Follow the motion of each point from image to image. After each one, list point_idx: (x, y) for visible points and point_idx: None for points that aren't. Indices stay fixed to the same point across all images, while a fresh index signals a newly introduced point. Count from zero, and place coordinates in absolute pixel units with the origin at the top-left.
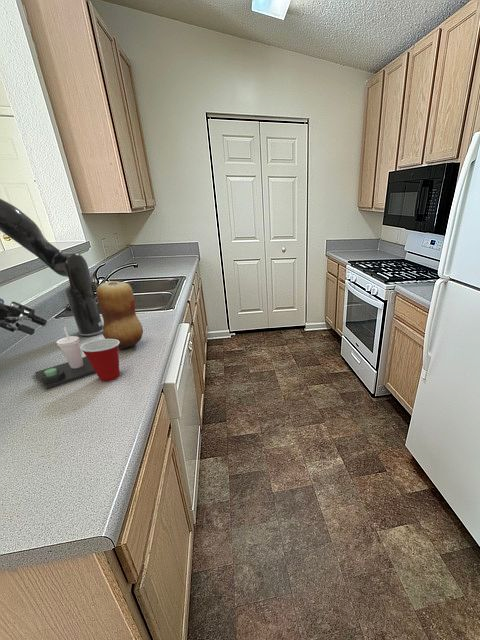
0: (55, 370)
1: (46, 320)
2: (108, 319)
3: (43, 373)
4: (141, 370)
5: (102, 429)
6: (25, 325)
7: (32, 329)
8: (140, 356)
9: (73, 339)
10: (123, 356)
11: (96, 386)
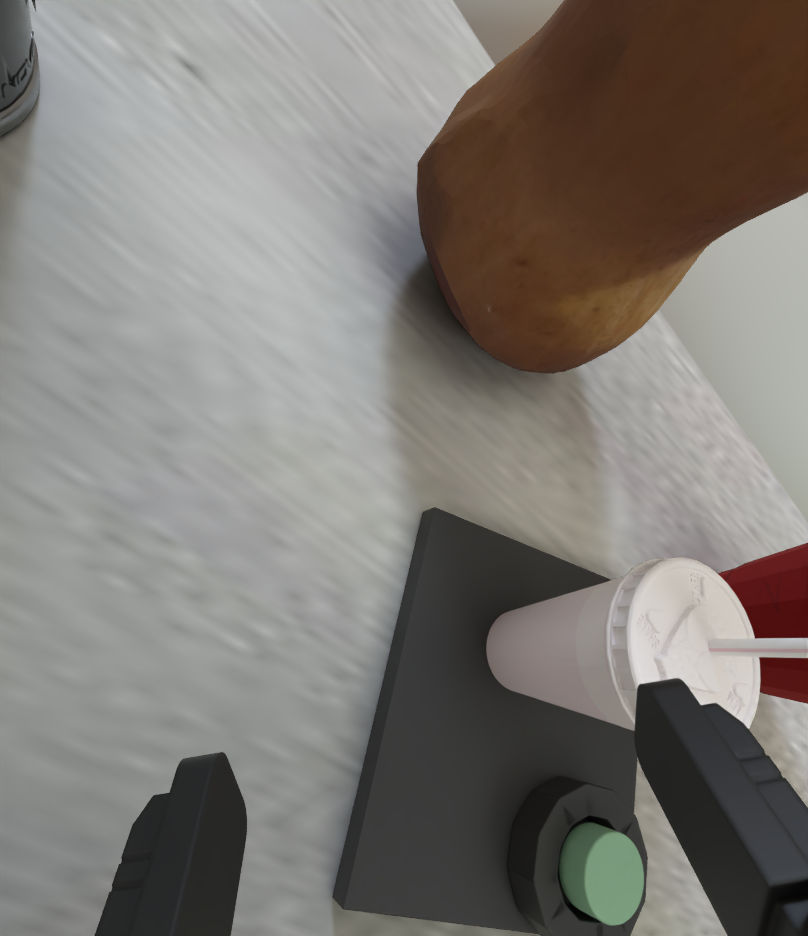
0: (636, 850)
1: (681, 680)
2: (700, 238)
3: (548, 911)
4: (742, 513)
5: None
6: (182, 919)
7: (222, 792)
8: (630, 391)
9: (739, 627)
10: (565, 415)
11: None
